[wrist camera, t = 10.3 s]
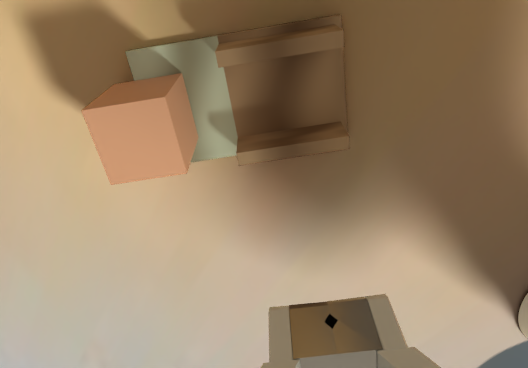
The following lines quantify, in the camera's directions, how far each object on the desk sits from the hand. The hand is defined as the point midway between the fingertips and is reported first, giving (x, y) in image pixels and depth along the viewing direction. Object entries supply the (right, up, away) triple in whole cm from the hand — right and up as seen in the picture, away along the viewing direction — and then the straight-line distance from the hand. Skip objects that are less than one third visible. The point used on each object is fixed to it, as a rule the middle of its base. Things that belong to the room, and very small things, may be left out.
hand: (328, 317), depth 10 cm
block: (-10, +9, +19) cm, 23 cm away
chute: (-3, +10, +19) cm, 22 cm away
